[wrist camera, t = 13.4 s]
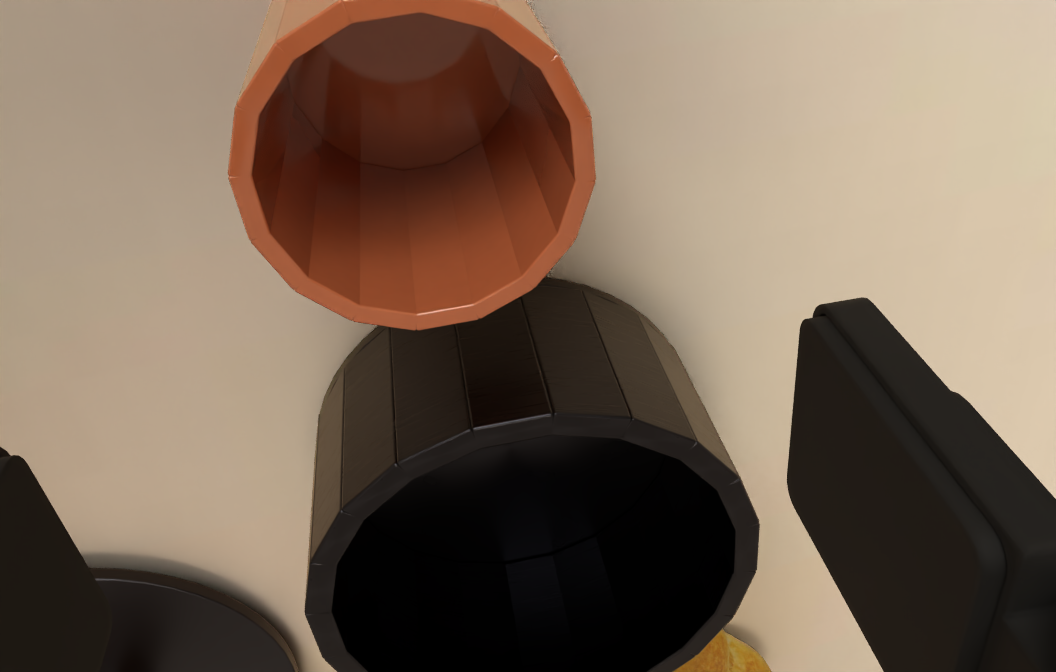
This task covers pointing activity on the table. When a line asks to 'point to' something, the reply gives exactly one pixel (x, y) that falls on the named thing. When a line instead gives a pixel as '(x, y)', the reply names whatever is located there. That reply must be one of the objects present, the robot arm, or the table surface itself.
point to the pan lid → (184, 628)
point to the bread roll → (726, 657)
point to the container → (410, 156)
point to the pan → (523, 498)
